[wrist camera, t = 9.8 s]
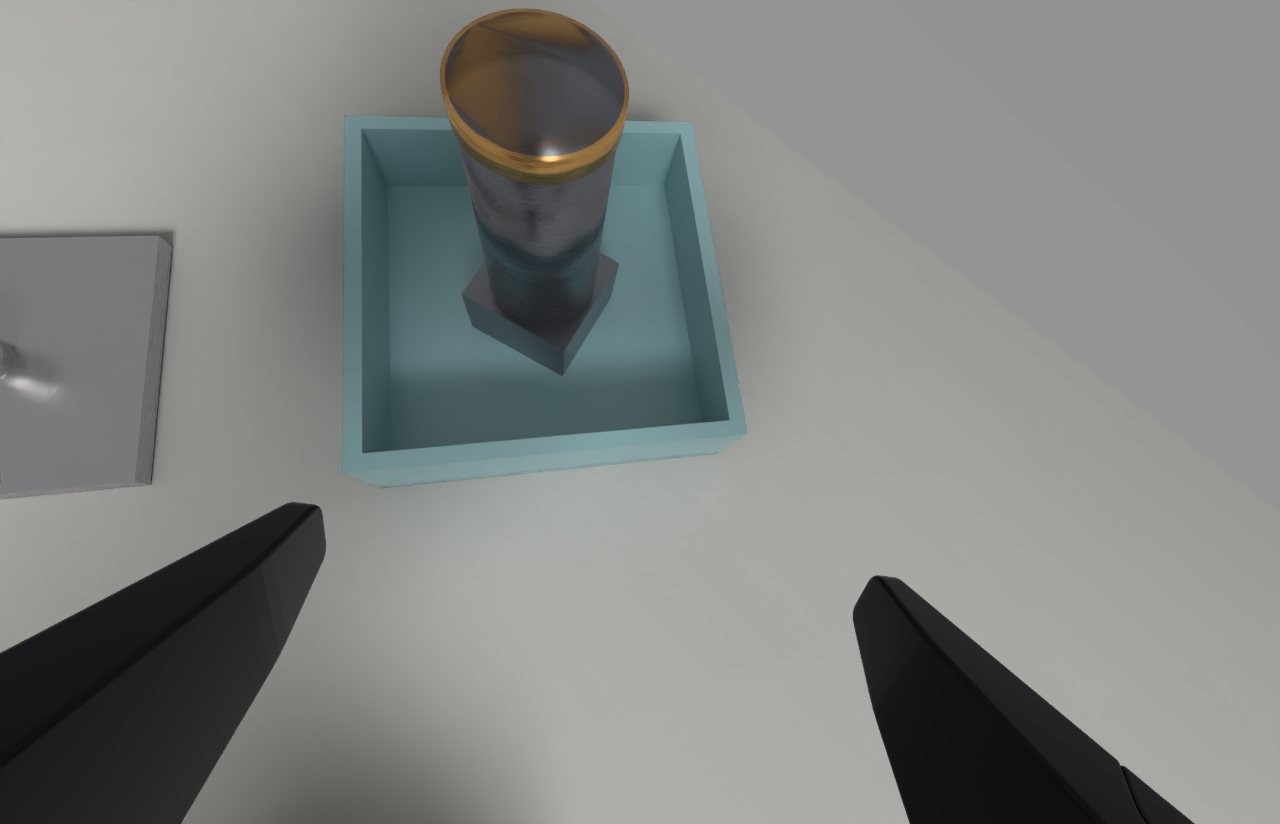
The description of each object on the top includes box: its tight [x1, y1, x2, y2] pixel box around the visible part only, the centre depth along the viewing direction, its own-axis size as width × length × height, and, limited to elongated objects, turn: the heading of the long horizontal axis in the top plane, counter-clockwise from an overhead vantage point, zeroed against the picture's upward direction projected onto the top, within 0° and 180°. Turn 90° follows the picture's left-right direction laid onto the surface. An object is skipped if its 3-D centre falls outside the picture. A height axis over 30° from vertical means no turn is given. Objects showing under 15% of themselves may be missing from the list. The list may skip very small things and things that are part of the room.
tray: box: [342, 115, 747, 488], centre depth 22 cm, size 14×14×4 cm
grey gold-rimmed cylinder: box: [440, 9, 629, 376], centre depth 18 cm, size 4×4×12 cm
